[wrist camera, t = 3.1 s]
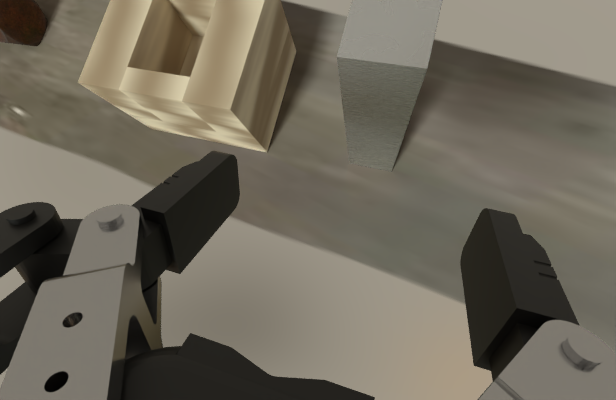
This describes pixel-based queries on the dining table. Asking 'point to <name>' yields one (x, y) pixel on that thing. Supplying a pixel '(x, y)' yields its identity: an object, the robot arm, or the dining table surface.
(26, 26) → the bolt
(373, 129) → the tall grey square pillar
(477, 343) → the robot arm
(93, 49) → the open beige box
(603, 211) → the dining table surface
